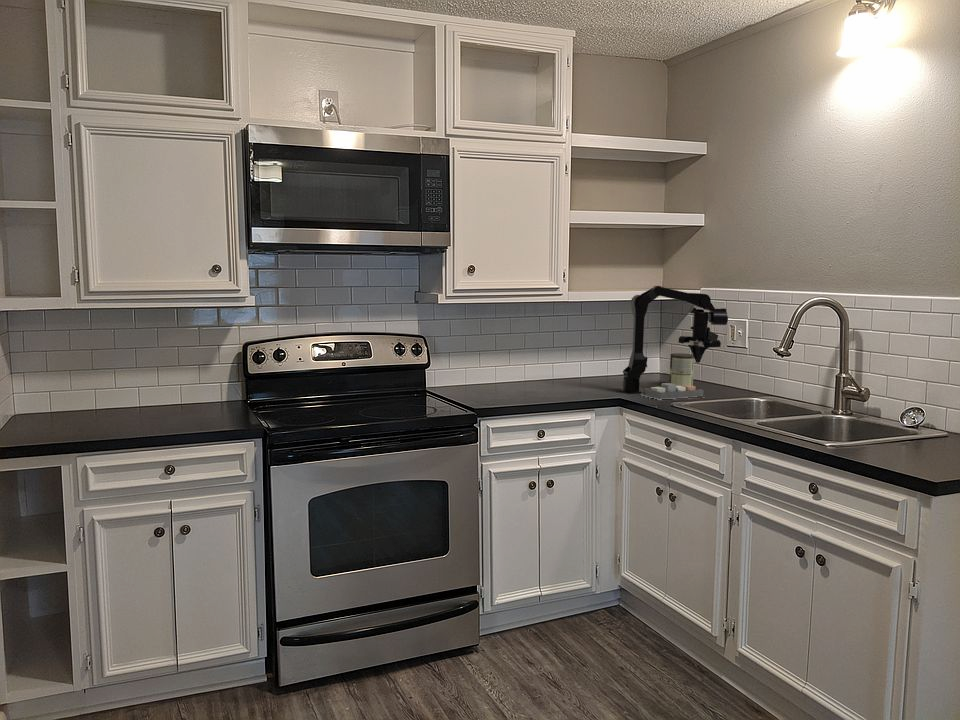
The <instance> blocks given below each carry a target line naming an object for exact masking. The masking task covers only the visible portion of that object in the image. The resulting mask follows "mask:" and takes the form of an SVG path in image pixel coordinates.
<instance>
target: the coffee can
mask: <svg viewBox="0 0 960 720" xmlns="http://www.w3.org/2000/svg"><path fill="white" fill-rule="evenodd" d="M669 355H670V358H669V359H670V360H669V362H670V363H669V374H668V375H669V376H668V377H669V378H668V383H671V384H676V386H681V385H691V386H694V385H693V383H694V373H695V372H694V370H695V358H694V356H693V353H682V352H681V353H678V352H677V353H676V352H675V353H673V352H672V353H670V354H669Z"/></svg>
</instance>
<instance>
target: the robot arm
mask: <svg viewBox="0 0 960 720" xmlns="http://www.w3.org/2000/svg"><path fill="white" fill-rule="evenodd" d="M658 297H663V298H668V299H672V300H677V301H681V302H685V303H688V304H689V305H691V306H693V307H692V308H691V309H690V310H688V313H689V314H690V313H691V314H693V322H692V326H690V330H692V335H691V336H690V335H680V336H679V337H678V342H677V343H679V344H685V343H688V345H687V347H689V349H690V351H691V354H692V355H693V356H694V361H695V362H696V363H697V364H699V363H701V360H702V358H703V355H704V353H705V351H706V350H707V349H709V348H721V344H722V342H721V340H719V339H718V338H719V334H717V333H715V332H712V331H711V328H710V327H709V325H708V323H710V325H711V326H712V325H713V326H726V325H727V324H728V320H729V316H728V313H727V312H728V311H727V308H725V307H724V308H723V307H722V308H715V306H714V305H713V303H712V299H711V297H710V295H708V294H706V293H701V292H700V293H699V292H687V291H681V290H676V289H673V288H668V287H663V286H661V285H654V286H653V287H652V288H649V289H648V290H646V291H645V292H643V293H641V294H635V295H634V296H632V297H631V300H630V305H631V311H632V315H633V329H632V331H633V332H632V351H631V354H630V357H629V361H628V366H626V367H625V369H623V370H622V373H623V383H622V385H623V387H622V389H620V390H619V392H621V391H622V392H623V393H625V392H626V394H643V391H642V390H641V391H640V379H641V376H642V375H643V374H644V373H645V371H646V369H647V368H648V357H647V356H646V355H644V339H645V337H644V335H645V334H644V333H645V317H646V314H647V311H648V307H649V304H650V303H652V302H653V301H655V300H656V299H657V298H658ZM699 308H700V309H699Z"/></svg>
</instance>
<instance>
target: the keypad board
mask: <svg viewBox="0 0 960 720" xmlns="http://www.w3.org/2000/svg"><path fill="white" fill-rule="evenodd" d="M640 395H641V396H640ZM703 395H704V389H700V388H697V387H696V388H695V390H688V389H686V391H680V390H676V391H674V392H671V391H667V390H665V392H658V391H654V390H651V387H648V388H647V387H645V388H642V393H639V396H640V397H643V396H645V397H644V398H647V397H649V398H648V399H651V398H654V399H653V400H655V399H657V400H656V401H663V400H662V399H673V400H677V399H676V398H688V397H697V396H703ZM688 399H689V398H688Z"/></svg>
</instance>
